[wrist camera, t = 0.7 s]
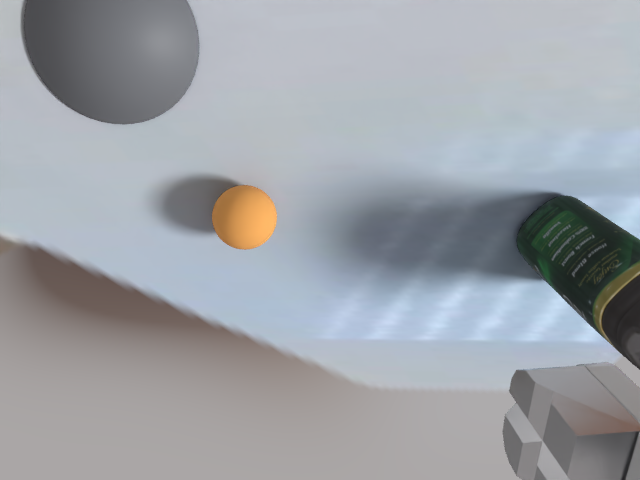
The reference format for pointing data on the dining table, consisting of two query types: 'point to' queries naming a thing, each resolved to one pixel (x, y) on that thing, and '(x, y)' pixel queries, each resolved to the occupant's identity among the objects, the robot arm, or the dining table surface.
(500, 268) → the dining table surface
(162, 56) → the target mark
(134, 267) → the dining table surface
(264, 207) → the ball
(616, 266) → the coffee jar
